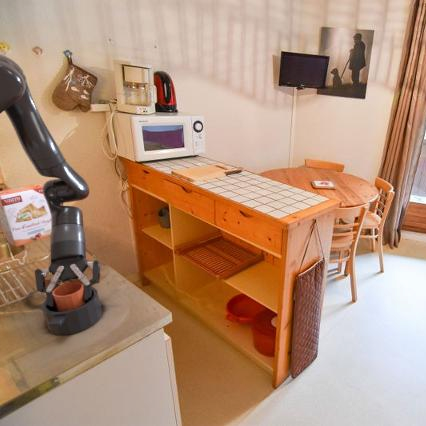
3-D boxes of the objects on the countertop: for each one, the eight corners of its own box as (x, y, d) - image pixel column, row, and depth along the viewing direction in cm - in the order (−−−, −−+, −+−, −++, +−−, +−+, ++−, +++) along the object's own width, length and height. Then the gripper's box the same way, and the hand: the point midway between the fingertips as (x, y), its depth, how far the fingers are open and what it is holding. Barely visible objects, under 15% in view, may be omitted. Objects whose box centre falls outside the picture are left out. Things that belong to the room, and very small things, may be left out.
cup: (55, 325, 82) (46, 297, 78) (68, 309, 88) (60, 282, 84) (83, 323, 83) (76, 295, 80) (94, 307, 89) (87, 280, 86)
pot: (32, 346, 77) (24, 323, 74) (68, 301, 92) (62, 281, 90) (86, 341, 80) (80, 319, 77) (112, 298, 95) (108, 278, 92)
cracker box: (17, 250, 114) (-1, 195, 106) (8, 245, 117) (-11, 192, 109) (60, 235, 126) (47, 185, 118) (52, 231, 128) (38, 182, 120)
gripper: (28, 243, 81) (28, 309, 76) (96, 235, 87) (100, 295, 82) (40, 251, 87) (40, 312, 82) (102, 243, 93) (106, 299, 89)
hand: (70, 303), depth 82 cm, fingers closed on cup, 6 cm apart
